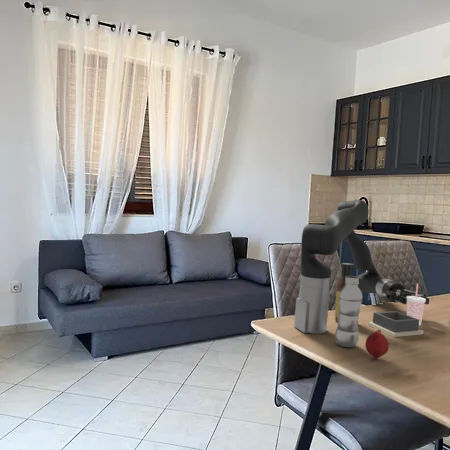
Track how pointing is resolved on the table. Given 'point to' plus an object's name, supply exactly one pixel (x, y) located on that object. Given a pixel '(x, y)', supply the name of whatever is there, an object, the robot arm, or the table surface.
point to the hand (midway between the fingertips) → (417, 301)
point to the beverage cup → (415, 306)
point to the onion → (376, 344)
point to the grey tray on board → (395, 324)
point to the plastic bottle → (349, 313)
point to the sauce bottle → (342, 284)
